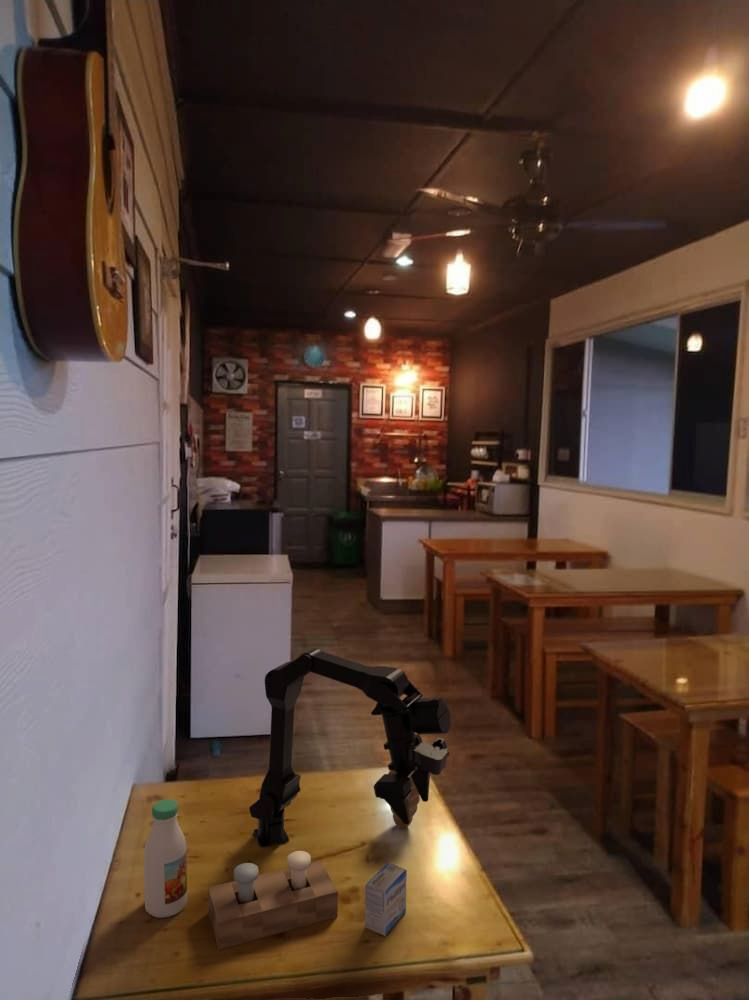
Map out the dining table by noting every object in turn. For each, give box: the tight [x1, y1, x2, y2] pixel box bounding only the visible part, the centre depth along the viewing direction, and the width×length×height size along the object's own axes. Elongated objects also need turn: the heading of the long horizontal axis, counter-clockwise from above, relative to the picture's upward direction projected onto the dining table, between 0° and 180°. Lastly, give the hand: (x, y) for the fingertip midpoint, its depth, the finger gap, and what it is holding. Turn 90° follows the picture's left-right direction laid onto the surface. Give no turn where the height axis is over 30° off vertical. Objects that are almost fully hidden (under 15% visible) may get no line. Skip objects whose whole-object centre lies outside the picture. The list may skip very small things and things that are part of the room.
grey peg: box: [233, 862, 259, 904], centre depth 126 cm, size 4×4×6 cm
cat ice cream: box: [387, 770, 421, 829], centre depth 157 cm, size 9×8×18 cm
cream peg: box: [286, 850, 312, 890], centre depth 130 cm, size 4×4×6 cm
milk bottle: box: [143, 799, 188, 919], centre depth 130 cm, size 8×8×20 cm
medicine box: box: [364, 862, 408, 937], centre depth 128 cm, size 8×4×9 cm, turn 148°
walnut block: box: [207, 860, 339, 951], centre depth 129 cm, size 10×22×5 cm, turn 113°
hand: (416, 812), depth 136 cm, fingers open, 9 cm apart
